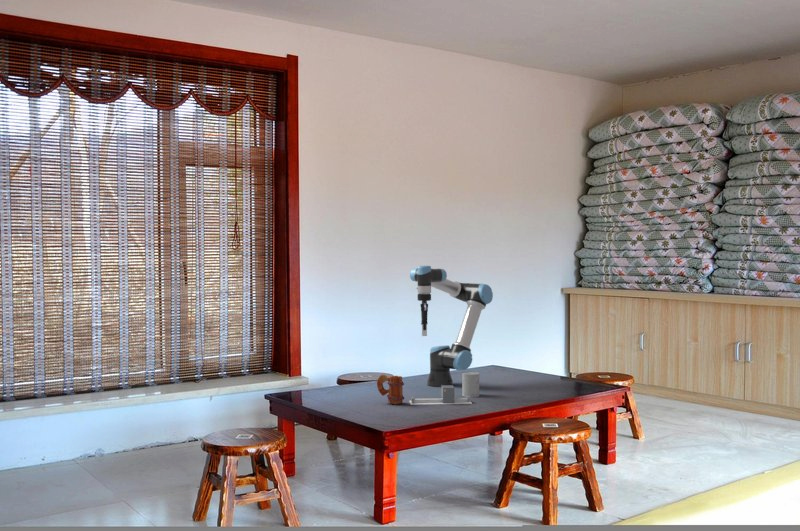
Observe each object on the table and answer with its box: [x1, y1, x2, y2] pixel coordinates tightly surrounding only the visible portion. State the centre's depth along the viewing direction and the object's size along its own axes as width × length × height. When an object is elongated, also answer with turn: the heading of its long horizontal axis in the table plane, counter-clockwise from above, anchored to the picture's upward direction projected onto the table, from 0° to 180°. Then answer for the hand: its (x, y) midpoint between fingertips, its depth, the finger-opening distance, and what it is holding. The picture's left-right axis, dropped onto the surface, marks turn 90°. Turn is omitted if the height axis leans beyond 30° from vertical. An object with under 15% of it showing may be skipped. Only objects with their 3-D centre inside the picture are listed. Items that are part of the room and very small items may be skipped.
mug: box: [376, 374, 405, 405], centre depth 405 cm, size 15×8×15 cm, turn 73°
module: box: [440, 384, 456, 403], centre depth 406 cm, size 7×6×8 cm
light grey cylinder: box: [461, 371, 480, 398], centre depth 426 cm, size 10×10×12 cm
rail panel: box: [408, 396, 473, 406], centre depth 406 cm, size 9×32×3 cm, turn 94°
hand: (424, 335), depth 429 cm, fingers closed
